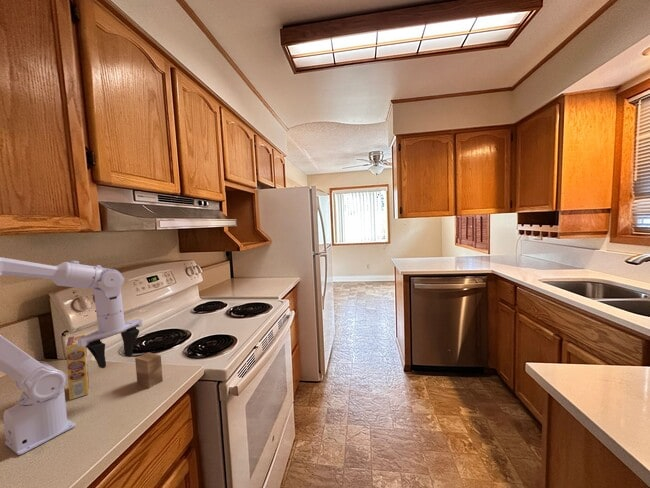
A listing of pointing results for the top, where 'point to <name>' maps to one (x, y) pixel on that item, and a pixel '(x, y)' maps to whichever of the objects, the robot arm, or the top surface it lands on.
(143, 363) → the walnut block
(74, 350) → the candy box
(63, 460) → the top surface
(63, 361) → the top surface
